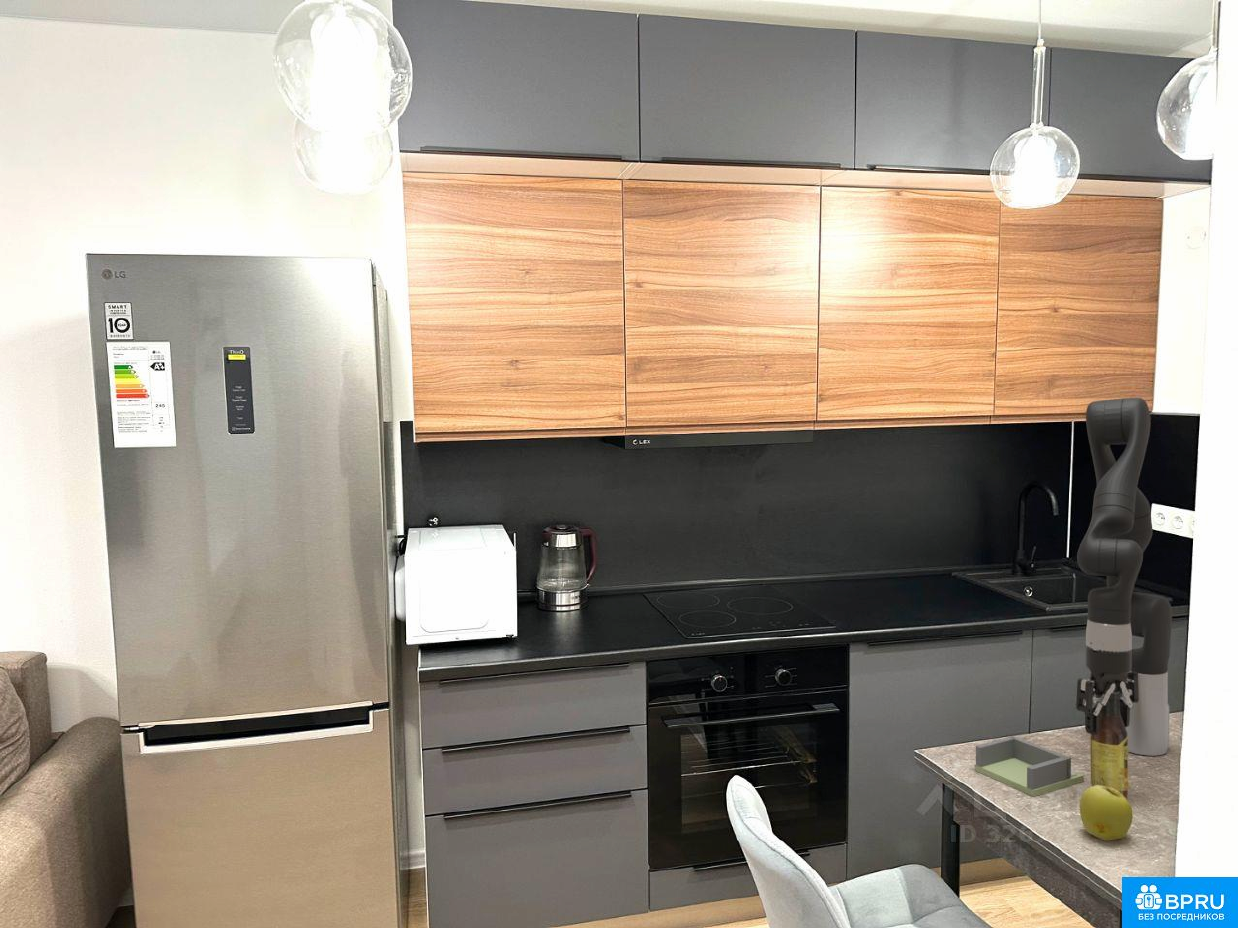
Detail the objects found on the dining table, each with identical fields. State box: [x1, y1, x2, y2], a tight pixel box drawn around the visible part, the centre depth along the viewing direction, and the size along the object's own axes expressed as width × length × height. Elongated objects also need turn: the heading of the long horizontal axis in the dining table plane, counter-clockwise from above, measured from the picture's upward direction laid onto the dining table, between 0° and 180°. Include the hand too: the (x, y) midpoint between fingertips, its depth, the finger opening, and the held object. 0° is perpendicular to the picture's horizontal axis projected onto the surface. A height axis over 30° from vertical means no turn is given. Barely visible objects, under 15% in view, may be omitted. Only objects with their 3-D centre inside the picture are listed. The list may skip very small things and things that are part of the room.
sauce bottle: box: [1089, 691, 1129, 799], centre depth 166 cm, size 7×6×20 cm
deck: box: [974, 735, 1085, 797], centre depth 175 cm, size 14×14×5 cm
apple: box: [1079, 778, 1133, 841], centre depth 151 cm, size 8×8×10 cm
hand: (1107, 729), depth 166 cm, fingers open, 8 cm apart
